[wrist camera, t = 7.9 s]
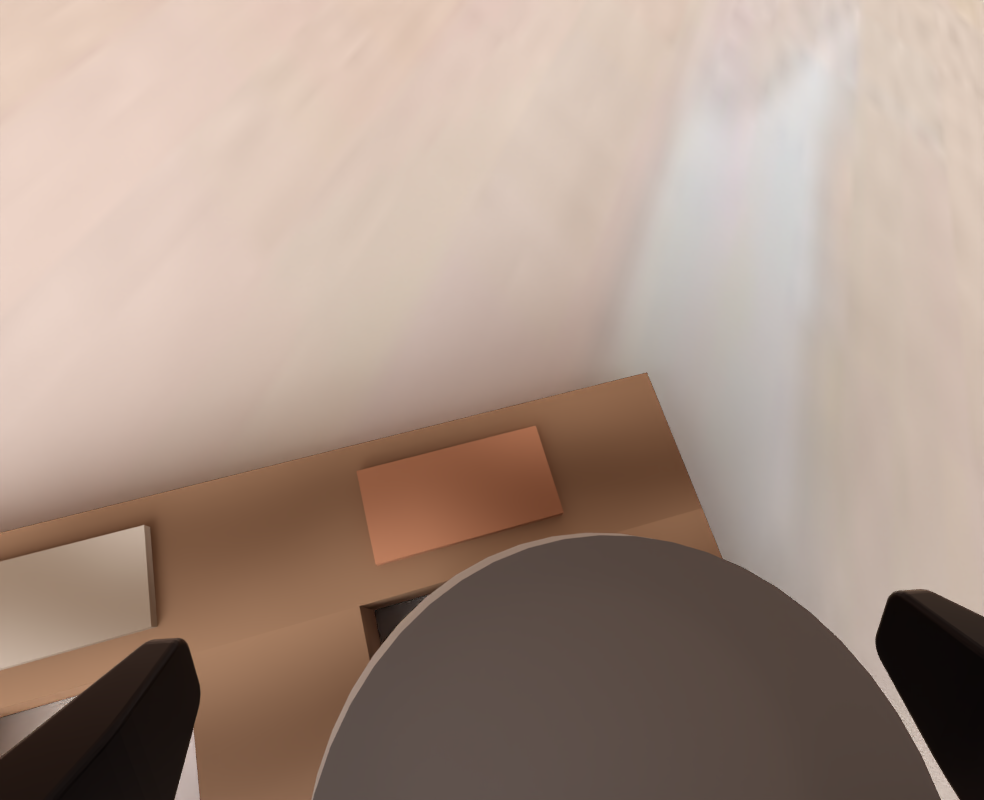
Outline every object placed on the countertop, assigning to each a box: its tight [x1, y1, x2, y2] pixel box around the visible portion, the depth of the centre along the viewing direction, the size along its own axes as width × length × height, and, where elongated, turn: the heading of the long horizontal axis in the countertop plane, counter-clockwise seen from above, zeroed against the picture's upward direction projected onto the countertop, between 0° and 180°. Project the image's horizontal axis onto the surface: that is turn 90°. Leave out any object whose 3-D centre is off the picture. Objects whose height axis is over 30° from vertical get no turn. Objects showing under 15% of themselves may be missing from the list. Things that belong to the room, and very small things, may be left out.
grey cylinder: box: [311, 533, 941, 800], centre depth 10 cm, size 5×5×13 cm
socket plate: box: [0, 373, 723, 800], centre depth 14 cm, size 14×22×3 cm, turn 106°
